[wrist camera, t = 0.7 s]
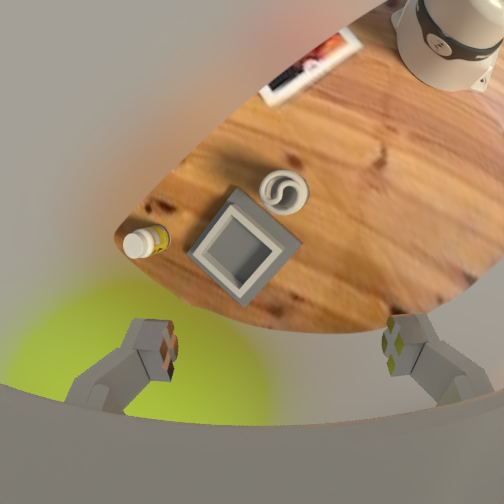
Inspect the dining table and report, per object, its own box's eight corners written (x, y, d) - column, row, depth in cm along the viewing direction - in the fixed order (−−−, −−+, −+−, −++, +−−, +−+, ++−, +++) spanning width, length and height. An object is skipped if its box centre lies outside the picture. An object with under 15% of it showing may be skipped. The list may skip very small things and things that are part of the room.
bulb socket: (239, 187, 50) (231, 187, 46) (303, 243, 49) (299, 247, 45) (190, 252, 54) (178, 257, 51) (246, 304, 53) (239, 313, 50)
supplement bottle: (153, 254, 57) (126, 264, 49) (146, 229, 56) (117, 235, 48) (175, 247, 55) (148, 257, 47) (167, 221, 55) (139, 227, 47)
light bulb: (286, 216, 49) (268, 225, 37) (269, 183, 49) (246, 182, 37) (319, 200, 47) (312, 203, 36) (302, 166, 47) (289, 159, 35)
